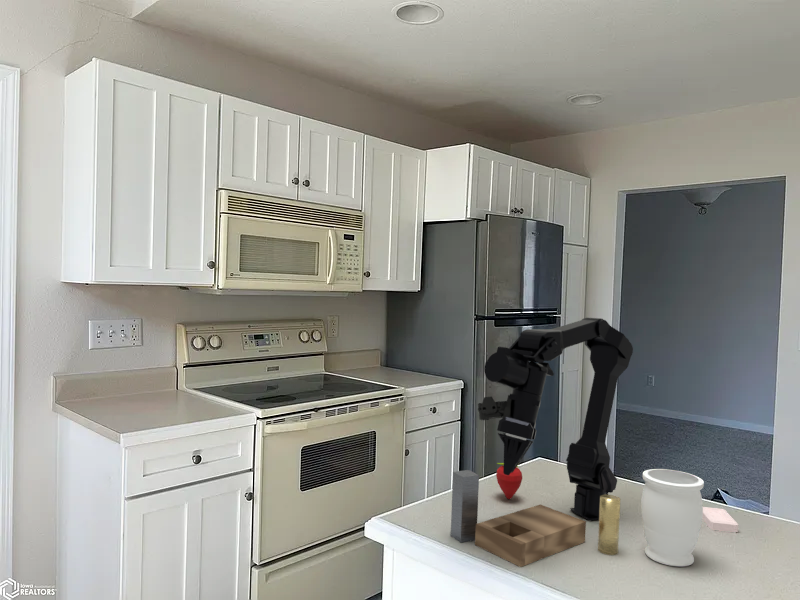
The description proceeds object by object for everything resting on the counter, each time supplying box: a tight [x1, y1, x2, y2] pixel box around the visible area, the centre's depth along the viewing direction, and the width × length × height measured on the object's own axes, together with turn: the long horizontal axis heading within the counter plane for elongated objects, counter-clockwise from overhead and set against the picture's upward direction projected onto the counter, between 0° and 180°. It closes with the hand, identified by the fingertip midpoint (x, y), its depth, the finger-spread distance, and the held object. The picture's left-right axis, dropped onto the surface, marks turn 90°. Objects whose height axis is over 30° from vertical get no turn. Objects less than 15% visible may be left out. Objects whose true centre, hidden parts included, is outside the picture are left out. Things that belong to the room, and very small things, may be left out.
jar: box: [640, 468, 705, 567], centre depth 113 cm, size 11×10×15 cm
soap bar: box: [702, 506, 739, 533], centre depth 131 cm, size 5×9×2 cm, turn 168°
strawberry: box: [495, 462, 523, 500], centre depth 141 cm, size 6×8×10 cm
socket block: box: [474, 504, 587, 568], centre depth 117 cm, size 19×11×4 cm, turn 129°
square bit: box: [450, 469, 480, 544], centre depth 118 cm, size 4×4×12 cm
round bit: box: [597, 494, 621, 556], centre depth 115 cm, size 4×4×10 cm
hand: (508, 473), depth 116 cm, fingers open, 9 cm apart
